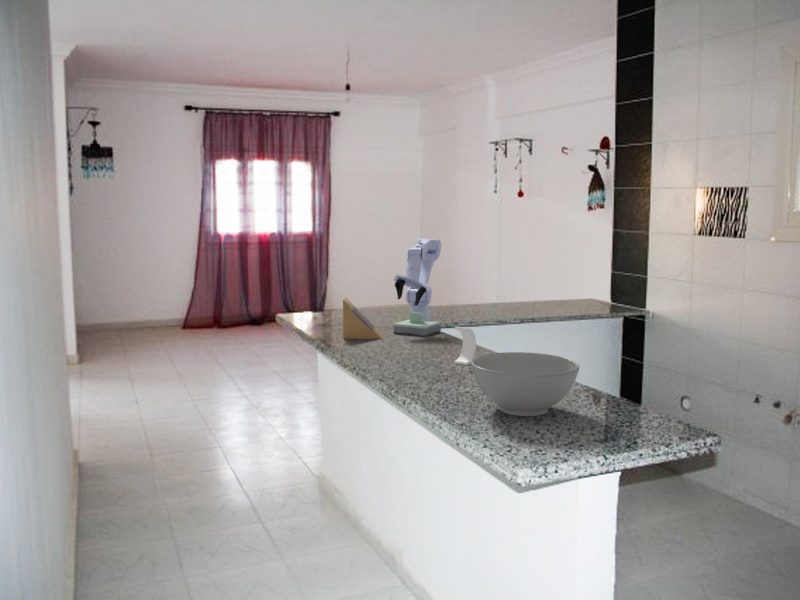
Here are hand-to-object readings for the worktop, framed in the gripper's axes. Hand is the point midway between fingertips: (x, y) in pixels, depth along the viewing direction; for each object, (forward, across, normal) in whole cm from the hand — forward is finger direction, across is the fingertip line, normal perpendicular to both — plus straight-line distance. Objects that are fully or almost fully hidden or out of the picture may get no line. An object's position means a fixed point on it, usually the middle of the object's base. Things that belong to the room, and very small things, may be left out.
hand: (407, 301), depth 297 cm
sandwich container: (+18, -12, +8) cm, 23 cm away
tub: (+8, +9, +7) cm, 14 cm away
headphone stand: (+41, +6, -42) cm, 59 cm away
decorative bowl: (+73, 0, -88) cm, 114 cm away
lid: (+5, +8, +5) cm, 11 cm away
